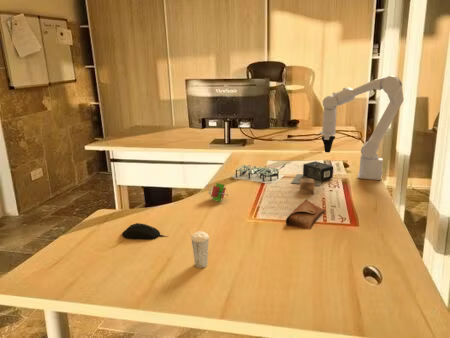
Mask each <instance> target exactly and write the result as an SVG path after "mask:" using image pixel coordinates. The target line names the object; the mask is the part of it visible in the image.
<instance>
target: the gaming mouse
mask: <svg viewBox="0 0 450 338" xmlns="http://www.w3.org/2000/svg"><path fill="white" fill-rule="evenodd" d="M121 234H122V235H121V236H122V237H123V238H124V239H126V240H139V241H146V240H147V241H151V240H156V239H157V238H159V237H162V238H163V237H164V238H169V236H167V235H164V234H161V232H160V230H158V229H157V228H155V227H153V226H151V225H148V224H145V223H139V222H137V223H134V224H130V225H129V226H128V227H127V228H126V229H125V230H124V231H123V232H121Z"/></svg>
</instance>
